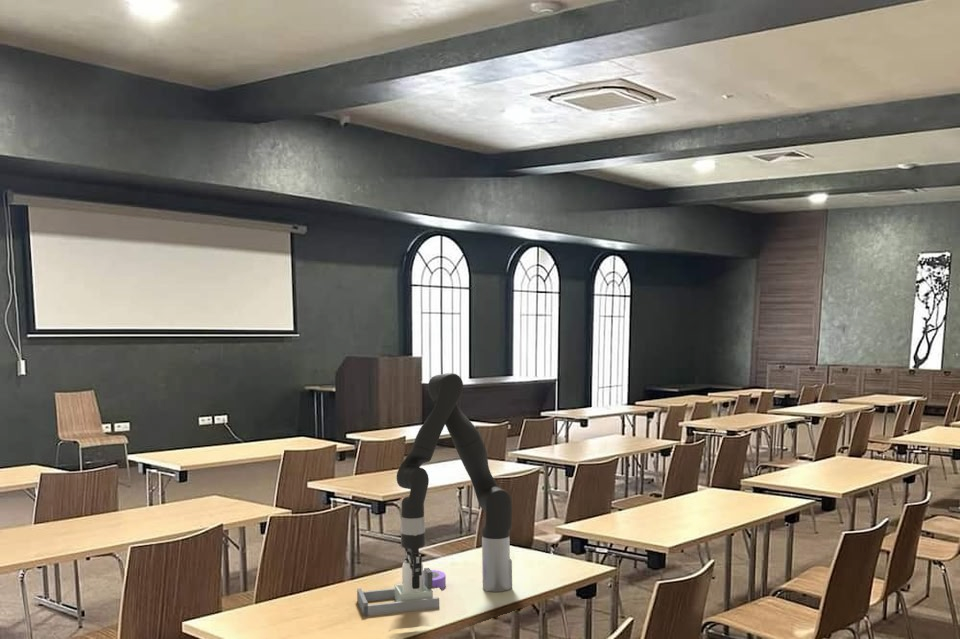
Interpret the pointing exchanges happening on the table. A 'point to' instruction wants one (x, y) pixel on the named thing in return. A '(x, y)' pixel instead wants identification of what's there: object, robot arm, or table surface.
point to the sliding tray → (416, 595)
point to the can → (409, 579)
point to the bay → (391, 606)
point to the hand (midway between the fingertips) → (413, 584)
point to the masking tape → (437, 579)
